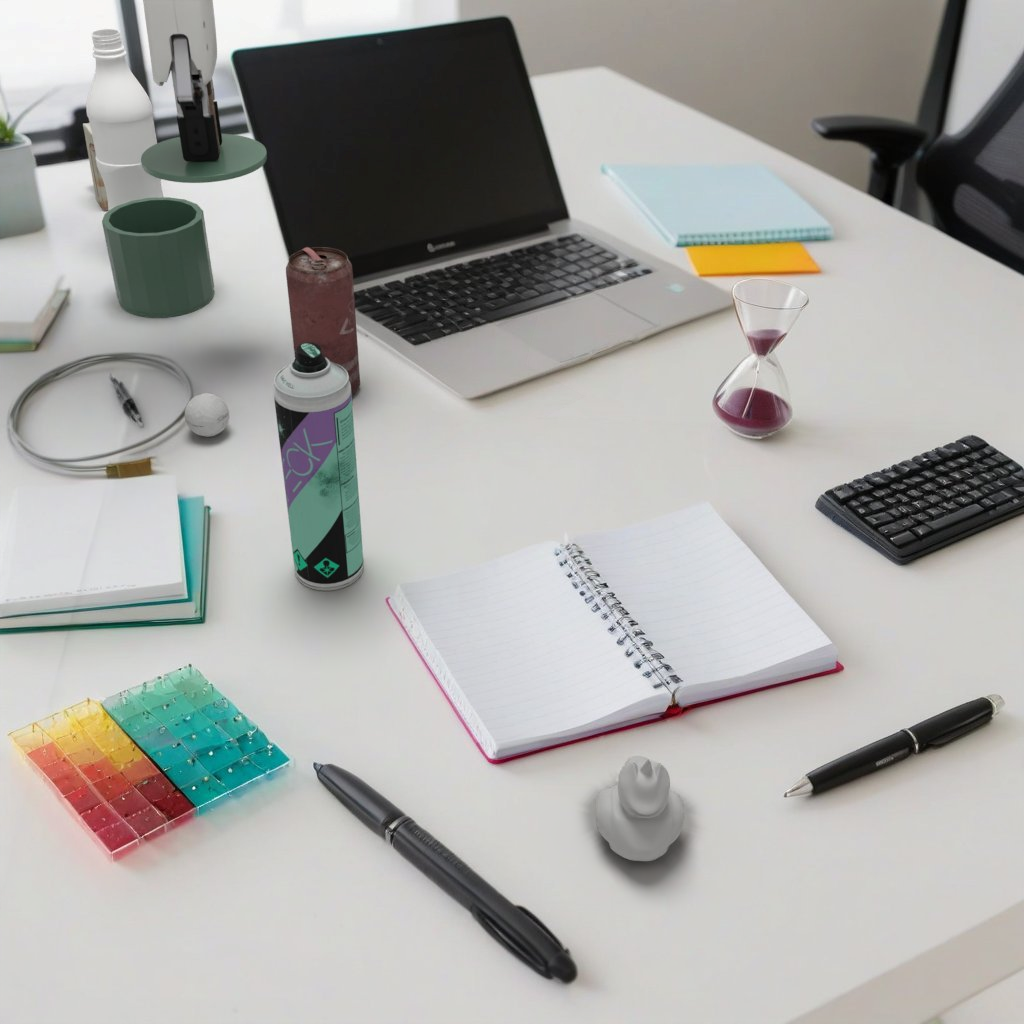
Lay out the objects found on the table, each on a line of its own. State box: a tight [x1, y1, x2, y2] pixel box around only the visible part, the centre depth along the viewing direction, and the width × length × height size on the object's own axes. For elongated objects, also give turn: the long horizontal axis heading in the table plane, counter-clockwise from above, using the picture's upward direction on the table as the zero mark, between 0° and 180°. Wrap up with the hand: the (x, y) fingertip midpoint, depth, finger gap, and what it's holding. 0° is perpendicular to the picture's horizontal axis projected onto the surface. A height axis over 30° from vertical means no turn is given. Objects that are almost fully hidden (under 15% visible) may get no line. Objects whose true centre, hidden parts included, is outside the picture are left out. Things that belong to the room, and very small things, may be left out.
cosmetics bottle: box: [82, 122, 108, 211], centre depth 148 cm, size 5×4×10 cm
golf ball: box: [184, 392, 230, 438], centre depth 106 cm, size 4×4×4 cm
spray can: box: [272, 343, 364, 592], centre depth 86 cm, size 6×6×20 cm
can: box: [285, 246, 361, 397], centre depth 110 cm, size 6×6×14 cm
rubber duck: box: [594, 755, 685, 862], centre depth 70 cm, size 5×7×8 cm
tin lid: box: [141, 89, 268, 184], centre depth 106 cm, size 11×11×7 cm
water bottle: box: [85, 28, 165, 212], centre depth 132 cm, size 7×7×25 cm
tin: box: [101, 196, 215, 319], centre depth 127 cm, size 10×10×10 cm
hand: (203, 150), depth 107 cm, fingers closed on tin lid, 3 cm apart
